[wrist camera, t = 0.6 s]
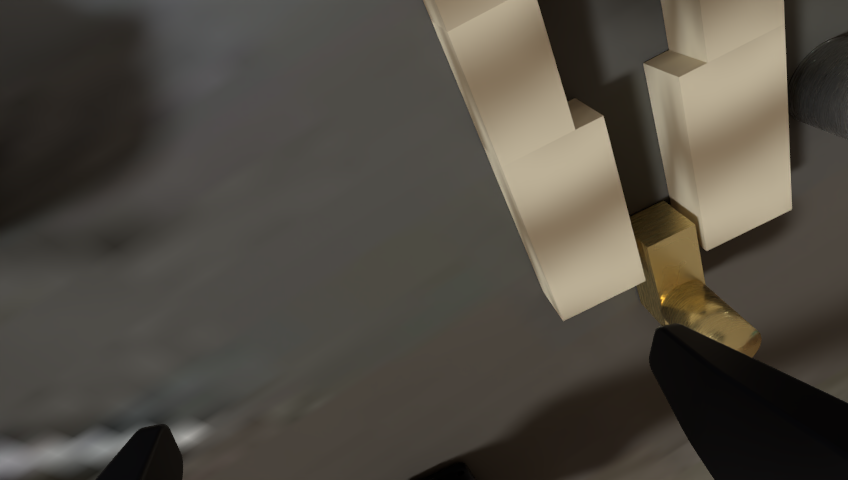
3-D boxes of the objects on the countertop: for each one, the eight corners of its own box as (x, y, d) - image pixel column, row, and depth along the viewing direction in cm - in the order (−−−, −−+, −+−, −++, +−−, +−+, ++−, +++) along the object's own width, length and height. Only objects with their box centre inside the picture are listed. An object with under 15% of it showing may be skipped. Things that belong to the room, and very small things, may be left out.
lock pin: (682, 283, 29) (763, 358, 24) (639, 303, 30) (711, 383, 24) (664, 199, 26) (754, 265, 21) (617, 223, 26) (694, 294, 21)
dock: (753, 187, 27) (792, 209, 25) (543, 291, 28) (563, 321, 26) (719, -208, 18) (775, -225, 16) (407, -40, 19) (420, -35, 17)
